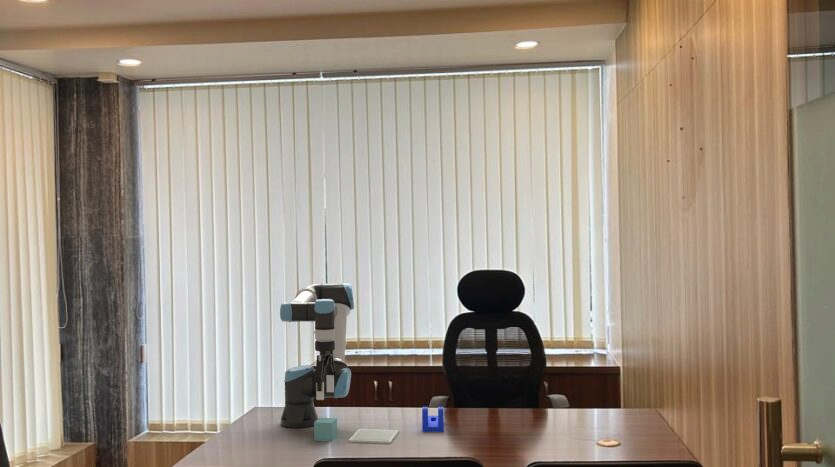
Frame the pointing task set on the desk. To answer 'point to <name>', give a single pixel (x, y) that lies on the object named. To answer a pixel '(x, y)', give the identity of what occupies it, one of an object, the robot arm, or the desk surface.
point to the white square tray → (374, 436)
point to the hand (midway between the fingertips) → (325, 395)
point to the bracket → (432, 421)
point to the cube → (325, 429)
